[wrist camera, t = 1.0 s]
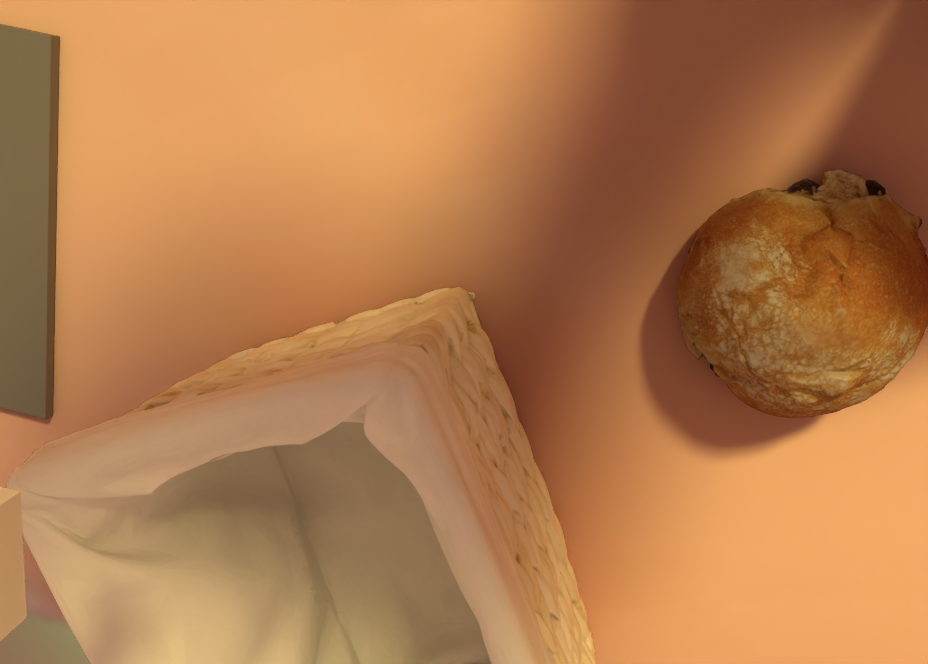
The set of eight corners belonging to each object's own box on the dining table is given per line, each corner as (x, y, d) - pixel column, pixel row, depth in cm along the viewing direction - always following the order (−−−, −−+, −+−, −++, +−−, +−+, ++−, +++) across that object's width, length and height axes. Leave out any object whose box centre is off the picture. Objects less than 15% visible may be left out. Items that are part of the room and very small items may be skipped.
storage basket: (621, 664, 41) (637, 955, 27) (354, 709, 45) (248, 983, 31) (480, 250, 35) (410, 348, 21) (190, 342, 39) (-30, 475, 25)
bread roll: (649, 250, 38) (605, 342, 32) (819, 102, 31) (802, 186, 25) (793, 377, 38) (775, 488, 33) (992, 261, 31) (1013, 377, 26)
